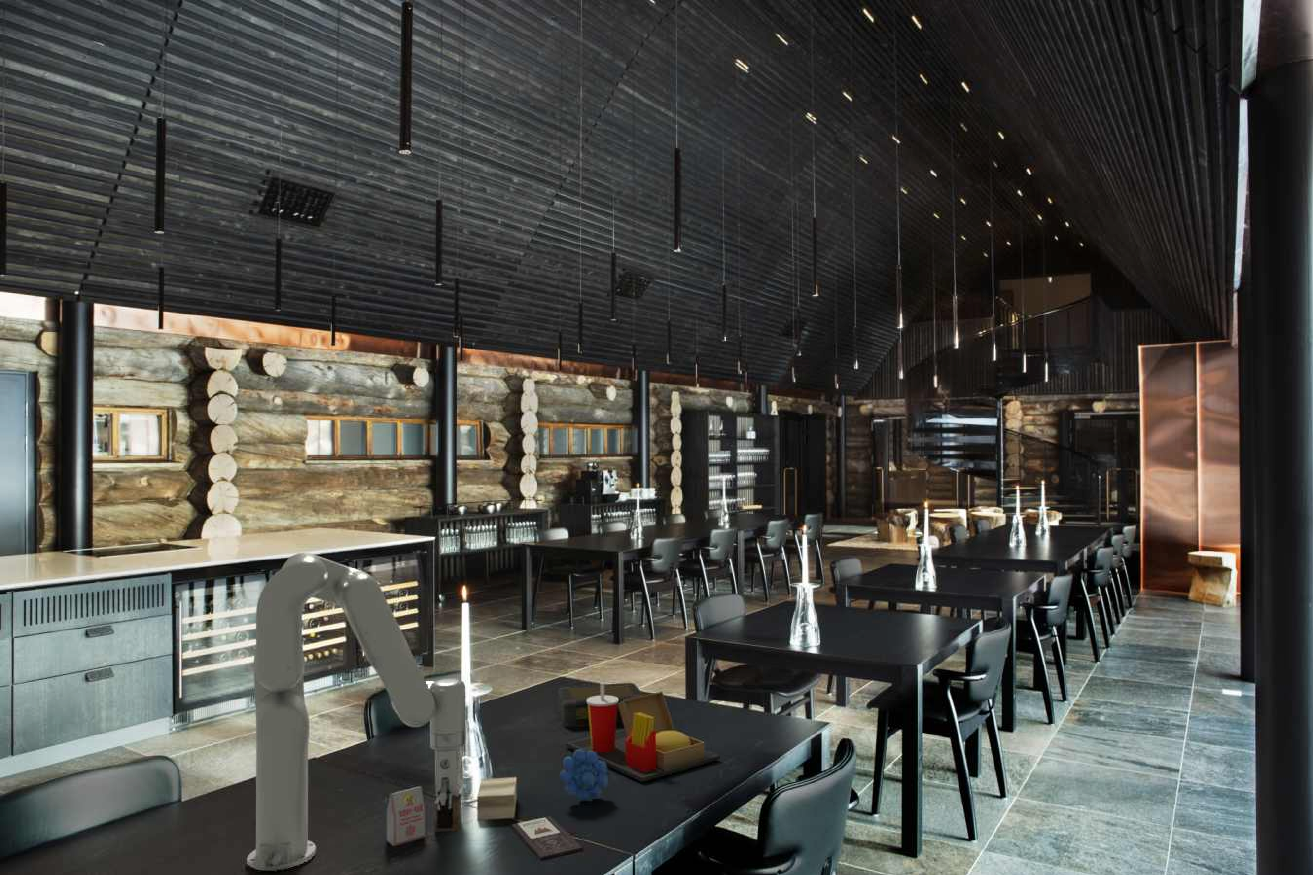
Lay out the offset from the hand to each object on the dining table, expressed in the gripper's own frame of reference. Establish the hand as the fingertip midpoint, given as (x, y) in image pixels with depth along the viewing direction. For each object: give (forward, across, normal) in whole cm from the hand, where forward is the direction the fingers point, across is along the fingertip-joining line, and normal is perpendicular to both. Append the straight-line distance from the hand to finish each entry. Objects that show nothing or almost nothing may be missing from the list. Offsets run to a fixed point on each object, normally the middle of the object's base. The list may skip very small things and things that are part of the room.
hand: (448, 818), depth 184 cm
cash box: (+2, +79, -37) cm, 87 cm away
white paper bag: (+2, -5, +8) cm, 10 cm away
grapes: (+2, +9, -30) cm, 31 cm away
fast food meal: (+2, +40, -46) cm, 61 cm away
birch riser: (+2, +8, -10) cm, 13 cm away
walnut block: (+2, 0, 0) cm, 2 cm away
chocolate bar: (+2, -9, -21) cm, 23 cm away
